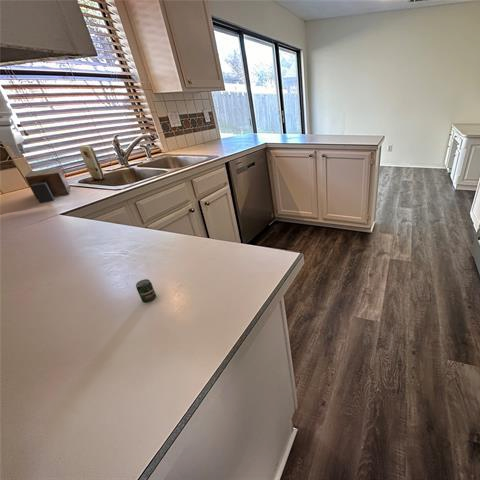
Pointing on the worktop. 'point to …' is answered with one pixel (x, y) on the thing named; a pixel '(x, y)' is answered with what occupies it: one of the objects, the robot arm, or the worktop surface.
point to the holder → (42, 192)
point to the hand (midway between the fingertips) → (20, 154)
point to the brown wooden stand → (50, 181)
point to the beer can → (145, 290)
